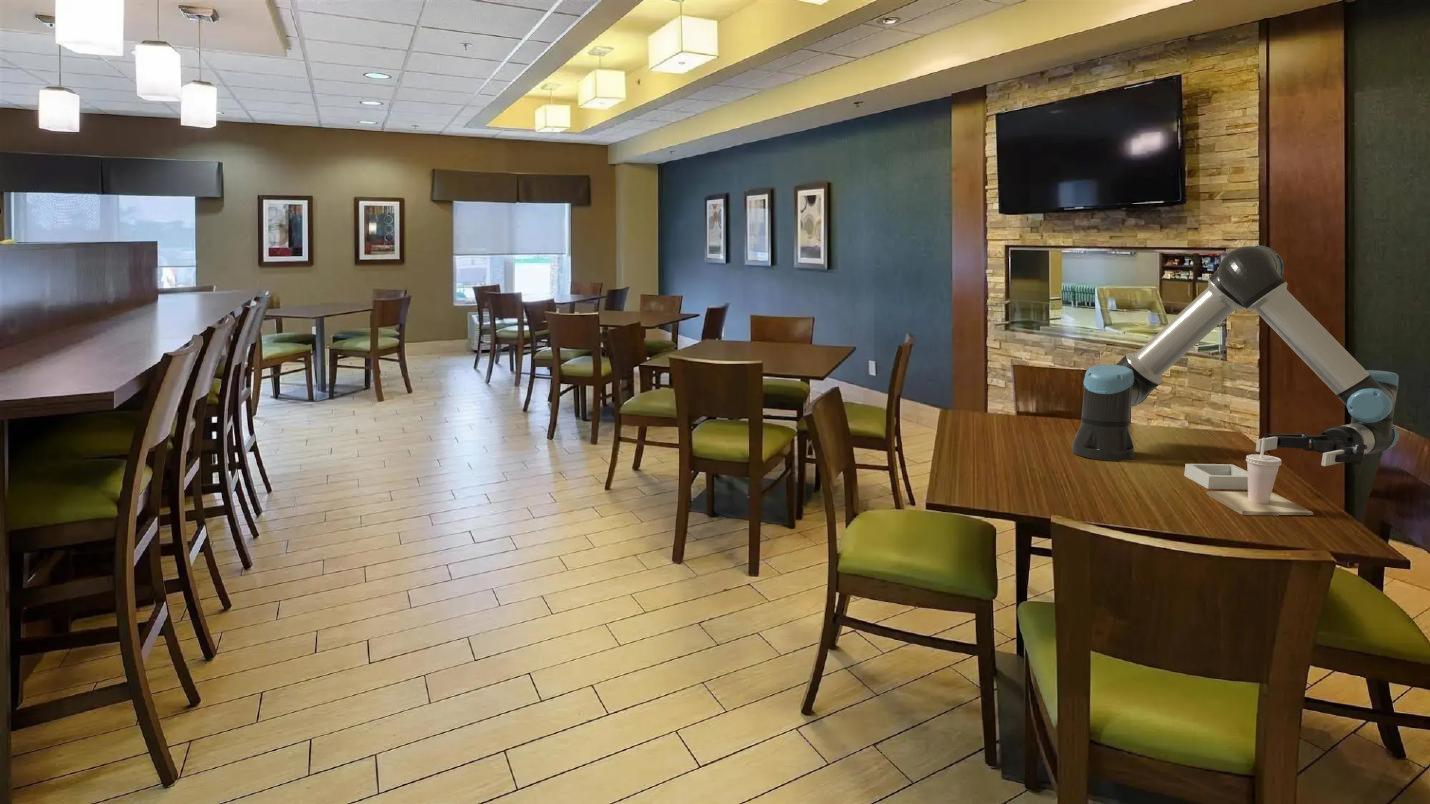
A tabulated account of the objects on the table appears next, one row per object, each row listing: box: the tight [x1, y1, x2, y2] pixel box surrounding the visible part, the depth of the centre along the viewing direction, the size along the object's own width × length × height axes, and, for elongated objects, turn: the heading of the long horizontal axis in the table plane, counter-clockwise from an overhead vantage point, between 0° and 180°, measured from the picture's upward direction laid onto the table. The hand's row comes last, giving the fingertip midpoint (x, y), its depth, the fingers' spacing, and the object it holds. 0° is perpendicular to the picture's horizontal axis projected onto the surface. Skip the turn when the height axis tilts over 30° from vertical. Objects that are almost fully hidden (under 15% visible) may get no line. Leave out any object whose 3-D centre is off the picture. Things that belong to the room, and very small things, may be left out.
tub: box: [1183, 463, 1248, 491], centre depth 191 cm, size 11×11×3 cm
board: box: [1206, 490, 1314, 516], centre depth 175 cm, size 14×14×1 cm
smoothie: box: [1245, 437, 1282, 504], centre depth 174 cm, size 6×6×14 cm
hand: (1289, 452), depth 177 cm, fingers open, 13 cm apart
